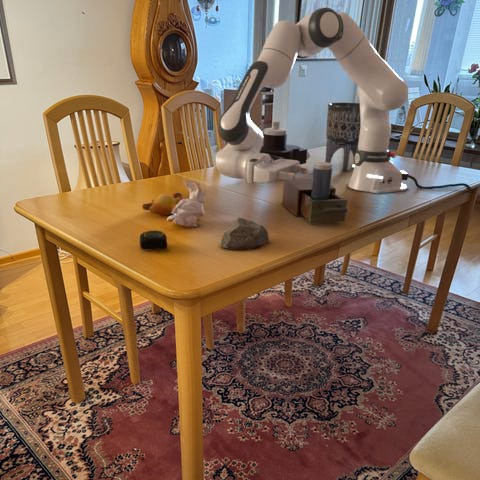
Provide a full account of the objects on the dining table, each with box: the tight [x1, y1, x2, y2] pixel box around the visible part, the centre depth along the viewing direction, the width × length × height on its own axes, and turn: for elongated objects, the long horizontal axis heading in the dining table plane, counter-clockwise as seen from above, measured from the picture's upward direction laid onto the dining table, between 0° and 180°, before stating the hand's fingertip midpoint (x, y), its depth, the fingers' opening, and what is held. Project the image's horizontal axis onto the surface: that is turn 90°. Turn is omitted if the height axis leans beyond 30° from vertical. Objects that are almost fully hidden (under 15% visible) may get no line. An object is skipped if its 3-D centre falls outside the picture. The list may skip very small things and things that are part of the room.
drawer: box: [299, 191, 349, 225], centre depth 138 cm, size 18×11×7 cm, turn 14°
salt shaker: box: [310, 161, 334, 200], centre depth 136 cm, size 6×6×15 cm
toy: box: [141, 192, 183, 216], centre depth 144 cm, size 11×6×15 cm
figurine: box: [166, 178, 207, 227], centre depth 132 cm, size 8×15×13 cm, turn 145°
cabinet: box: [282, 177, 337, 218], centre depth 149 cm, size 14×12×8 cm
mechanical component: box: [260, 121, 311, 166], centre depth 191 cm, size 22×21×30 cm
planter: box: [324, 102, 361, 172], centre depth 204 cm, size 20×20×26 cm
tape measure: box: [139, 229, 168, 251], centre depth 117 cm, size 7×7×4 cm
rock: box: [220, 216, 270, 251], centre depth 120 cm, size 13×9×6 cm, turn 131°
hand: (300, 173), depth 138 cm, fingers open, 8 cm apart
